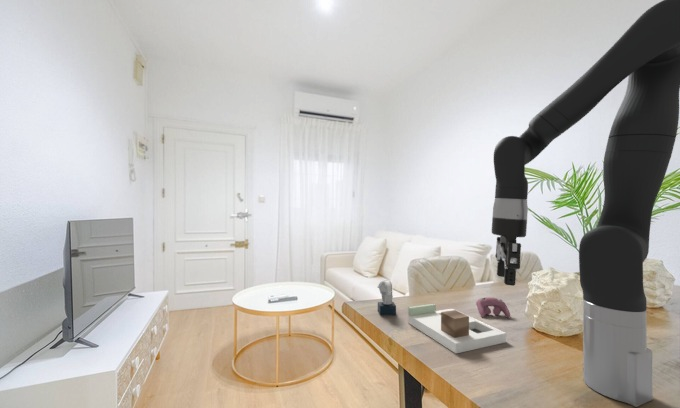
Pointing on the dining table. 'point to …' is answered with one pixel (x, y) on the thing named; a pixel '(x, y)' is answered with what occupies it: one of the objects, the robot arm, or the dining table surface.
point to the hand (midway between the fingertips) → (505, 280)
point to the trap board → (430, 324)
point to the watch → (386, 299)
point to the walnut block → (455, 323)
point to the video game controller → (496, 303)
